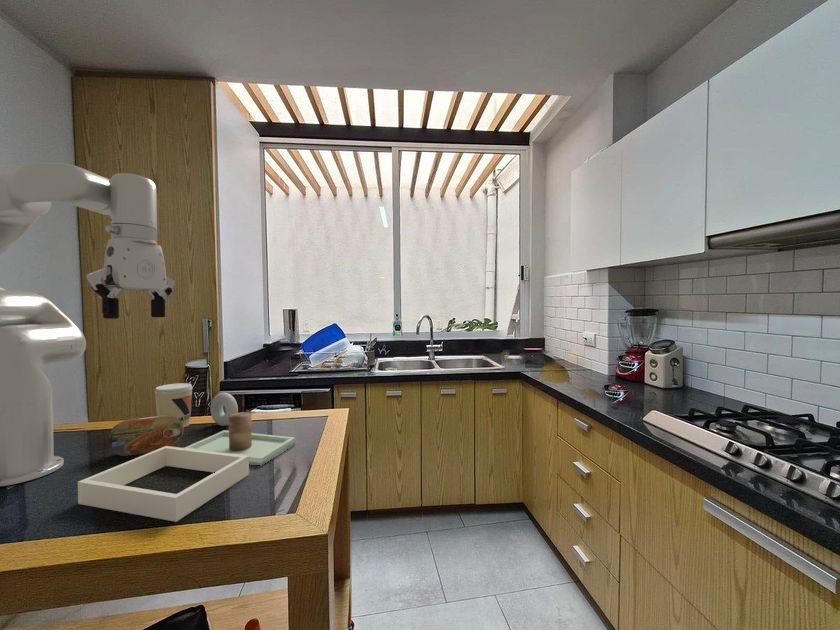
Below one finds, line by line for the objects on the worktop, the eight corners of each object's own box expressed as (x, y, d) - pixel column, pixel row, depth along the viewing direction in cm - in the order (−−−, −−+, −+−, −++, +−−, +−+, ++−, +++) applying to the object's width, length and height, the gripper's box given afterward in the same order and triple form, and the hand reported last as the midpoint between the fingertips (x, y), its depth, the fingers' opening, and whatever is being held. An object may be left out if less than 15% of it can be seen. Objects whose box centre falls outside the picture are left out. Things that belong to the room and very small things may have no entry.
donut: (240, 426, 105) (240, 393, 105) (230, 430, 102) (230, 395, 102) (218, 421, 109) (218, 389, 109) (207, 425, 106) (207, 392, 106)
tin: (106, 458, 83) (105, 423, 83) (111, 453, 86) (111, 419, 85) (182, 448, 89) (182, 415, 89) (185, 444, 92) (184, 411, 91)
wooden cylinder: (224, 450, 86) (224, 417, 86) (239, 442, 91) (239, 411, 90) (241, 452, 85) (241, 419, 84) (256, 444, 89) (255, 413, 89)
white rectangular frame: (78, 503, 64) (77, 481, 64) (166, 463, 80) (166, 445, 80) (176, 521, 58) (175, 498, 58) (248, 474, 75) (248, 455, 75)
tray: (182, 456, 84) (181, 448, 84) (224, 436, 97) (224, 430, 97) (261, 466, 79) (261, 458, 79) (295, 444, 91) (295, 437, 91)
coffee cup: (178, 431, 100) (178, 390, 100) (146, 431, 101) (146, 389, 100) (200, 421, 110) (199, 382, 109) (170, 421, 110) (169, 382, 110)
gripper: (102, 226, 65) (104, 319, 65) (185, 243, 81) (186, 316, 82) (72, 228, 66) (74, 318, 67) (160, 244, 83) (160, 316, 84)
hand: (136, 317), depth 74 cm, fingers open, 9 cm apart
